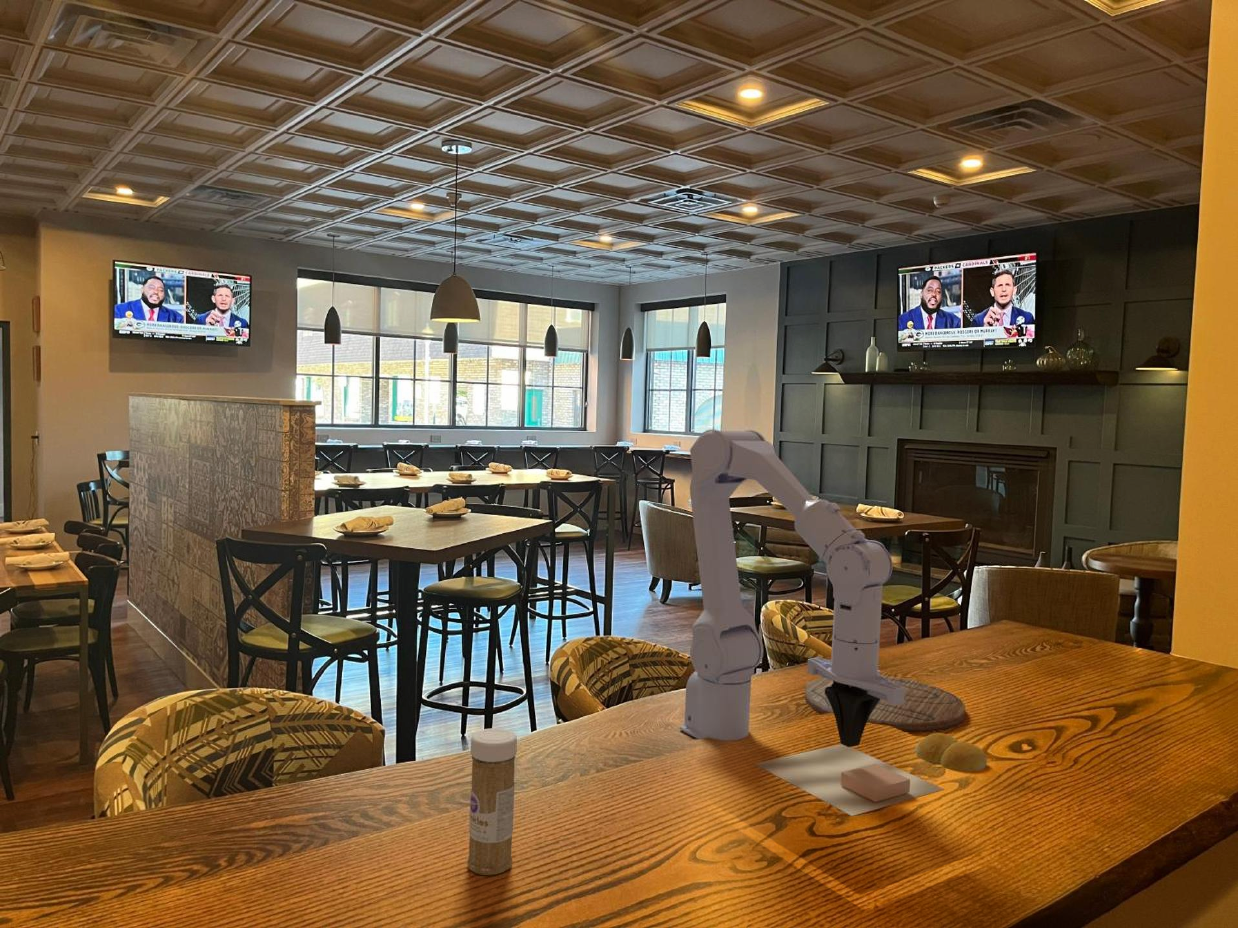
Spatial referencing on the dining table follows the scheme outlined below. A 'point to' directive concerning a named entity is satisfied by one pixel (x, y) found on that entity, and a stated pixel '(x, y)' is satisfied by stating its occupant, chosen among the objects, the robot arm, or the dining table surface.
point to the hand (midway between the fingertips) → (850, 744)
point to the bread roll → (951, 753)
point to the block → (875, 782)
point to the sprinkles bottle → (492, 801)
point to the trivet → (902, 706)
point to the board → (839, 777)
